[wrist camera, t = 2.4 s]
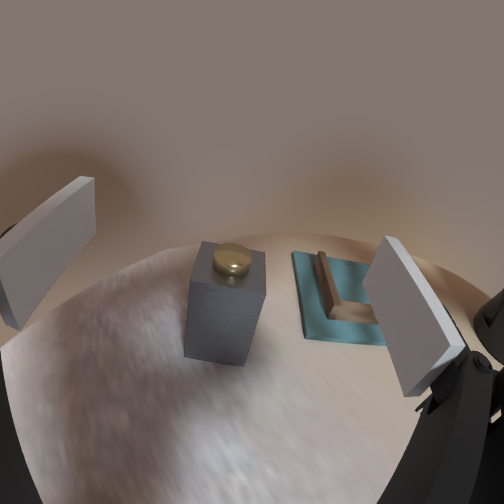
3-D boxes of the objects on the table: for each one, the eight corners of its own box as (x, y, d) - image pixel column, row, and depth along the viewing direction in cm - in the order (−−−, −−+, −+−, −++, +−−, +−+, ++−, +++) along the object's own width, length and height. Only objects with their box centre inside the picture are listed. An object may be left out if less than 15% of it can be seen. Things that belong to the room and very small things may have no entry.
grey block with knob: (245, 324, 34) (267, 241, 28) (243, 366, 29) (269, 282, 23) (193, 315, 33) (203, 230, 27) (184, 356, 28) (191, 268, 22)
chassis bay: (386, 272, 50) (393, 257, 49) (423, 347, 35) (435, 331, 33) (292, 254, 49) (297, 237, 47) (305, 338, 34) (314, 319, 32)
